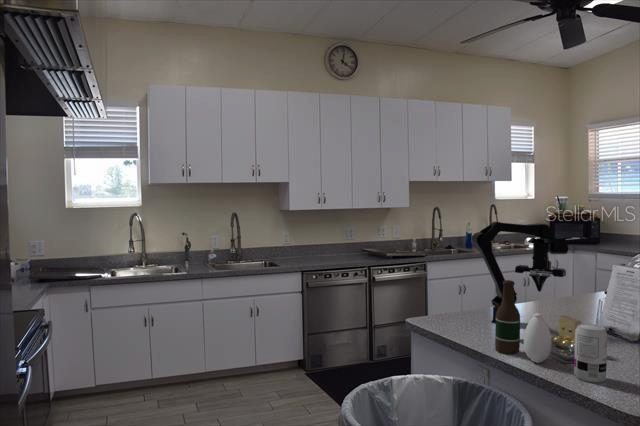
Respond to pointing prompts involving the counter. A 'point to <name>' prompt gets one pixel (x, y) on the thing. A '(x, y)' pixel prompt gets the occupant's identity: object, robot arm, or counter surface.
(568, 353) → the gunmetal leaf
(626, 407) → the counter surface
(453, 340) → the counter surface
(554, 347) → the rubber mat
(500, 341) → the beer bottle
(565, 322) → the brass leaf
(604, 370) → the supplement can
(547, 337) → the sauce bottle
